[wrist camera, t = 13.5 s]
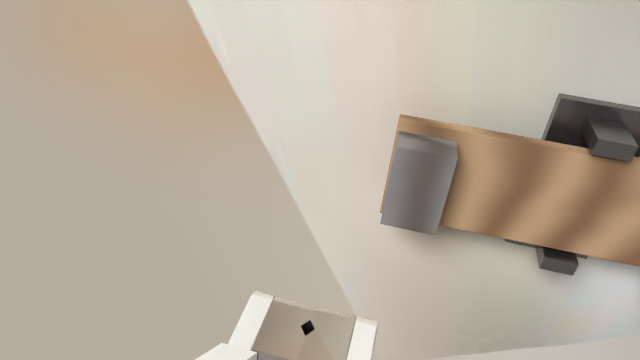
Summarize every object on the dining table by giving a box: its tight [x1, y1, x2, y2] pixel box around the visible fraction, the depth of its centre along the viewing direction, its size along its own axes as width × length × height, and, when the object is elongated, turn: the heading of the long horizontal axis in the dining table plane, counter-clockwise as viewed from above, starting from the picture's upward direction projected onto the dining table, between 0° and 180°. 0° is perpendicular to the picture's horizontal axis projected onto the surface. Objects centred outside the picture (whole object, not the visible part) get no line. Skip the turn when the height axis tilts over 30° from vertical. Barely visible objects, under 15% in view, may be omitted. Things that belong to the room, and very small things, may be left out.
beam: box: [380, 114, 640, 266], centre depth 44 cm, size 34×10×4 cm, turn 84°
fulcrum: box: [505, 94, 640, 275], centre depth 46 cm, size 8×16×6 cm, turn 174°
